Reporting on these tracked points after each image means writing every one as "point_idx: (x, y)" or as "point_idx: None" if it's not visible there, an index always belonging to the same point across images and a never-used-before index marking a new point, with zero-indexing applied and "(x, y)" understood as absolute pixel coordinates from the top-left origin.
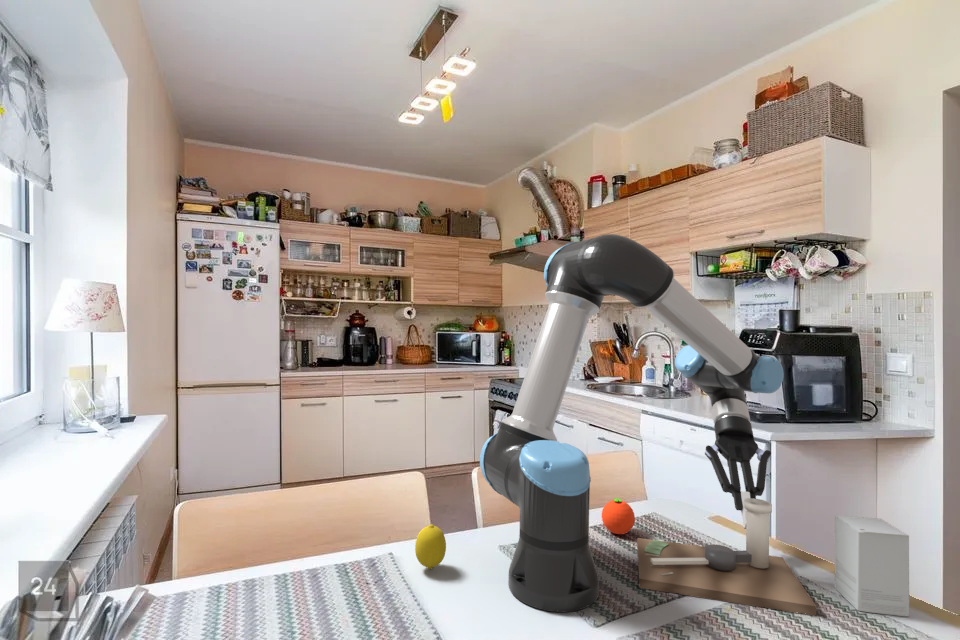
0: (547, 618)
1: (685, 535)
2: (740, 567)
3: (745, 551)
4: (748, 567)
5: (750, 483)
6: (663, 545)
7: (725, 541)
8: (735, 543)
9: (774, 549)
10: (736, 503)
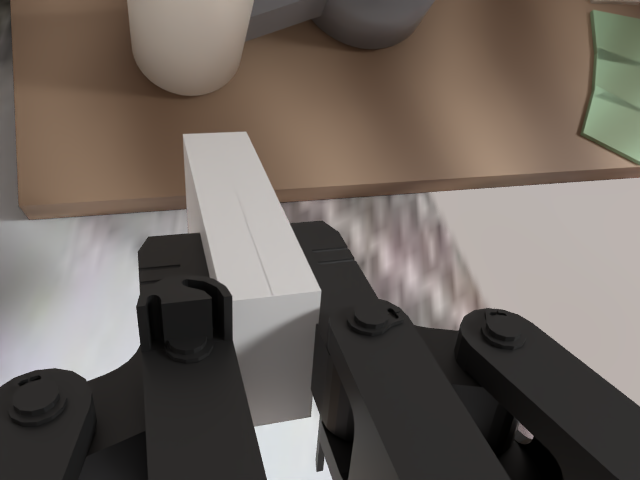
0: None
1: None
2: None
3: (253, 4)
4: None
5: (202, 414)
6: (599, 106)
7: (314, 433)
8: (259, 430)
9: None
10: (338, 236)
